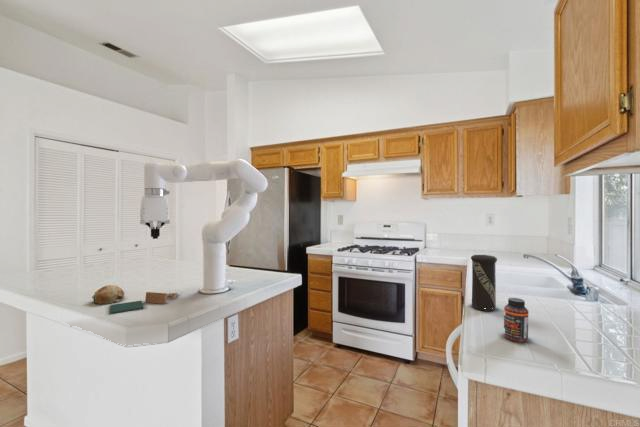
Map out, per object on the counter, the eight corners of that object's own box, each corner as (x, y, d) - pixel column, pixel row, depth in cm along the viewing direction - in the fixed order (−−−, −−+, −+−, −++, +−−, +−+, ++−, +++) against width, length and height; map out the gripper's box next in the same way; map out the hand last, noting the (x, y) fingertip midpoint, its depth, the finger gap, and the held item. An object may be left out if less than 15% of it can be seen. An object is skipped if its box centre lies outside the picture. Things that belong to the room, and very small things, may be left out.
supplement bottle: (500, 338, 87) (501, 299, 87) (506, 332, 92) (507, 295, 91) (525, 345, 83) (525, 303, 83) (530, 338, 87) (530, 299, 87)
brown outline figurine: (164, 303, 119) (184, 299, 130) (165, 293, 119) (185, 289, 131) (145, 302, 121) (166, 297, 132) (146, 292, 121) (167, 288, 133)
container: (473, 310, 112) (473, 256, 112) (468, 303, 120) (469, 252, 120) (499, 312, 109) (500, 257, 109) (493, 305, 118) (493, 253, 118)
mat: (141, 302, 121) (141, 300, 121) (143, 308, 113) (143, 307, 113) (110, 306, 115) (110, 304, 115) (110, 313, 107) (110, 312, 107)
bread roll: (107, 314, 117) (116, 295, 117) (83, 302, 117) (92, 283, 117) (124, 305, 127) (132, 288, 127) (102, 295, 127) (110, 278, 127)
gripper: (173, 194, 131) (173, 237, 131) (133, 193, 122) (133, 238, 122) (176, 193, 124) (176, 238, 125) (133, 192, 116) (134, 240, 116)
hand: (155, 238), depth 123 cm, fingers closed
